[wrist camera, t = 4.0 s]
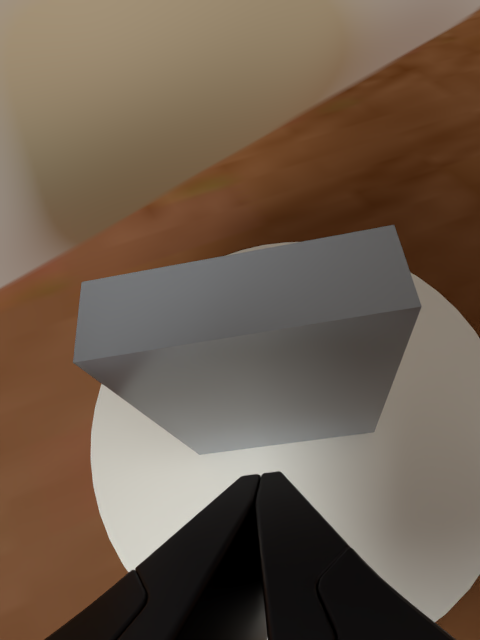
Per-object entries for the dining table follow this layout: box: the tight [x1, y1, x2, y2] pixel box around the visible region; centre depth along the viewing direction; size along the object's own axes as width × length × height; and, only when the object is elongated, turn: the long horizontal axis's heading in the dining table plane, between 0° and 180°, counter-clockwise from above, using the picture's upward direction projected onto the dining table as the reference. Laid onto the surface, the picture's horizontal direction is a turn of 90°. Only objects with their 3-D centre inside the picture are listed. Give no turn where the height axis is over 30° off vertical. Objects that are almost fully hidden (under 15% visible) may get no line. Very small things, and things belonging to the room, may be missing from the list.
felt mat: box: [91, 242, 480, 640], centre depth 18 cm, size 17×17×1 cm
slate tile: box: [73, 225, 422, 455], centre depth 13 cm, size 2×7×10 cm, turn 95°
